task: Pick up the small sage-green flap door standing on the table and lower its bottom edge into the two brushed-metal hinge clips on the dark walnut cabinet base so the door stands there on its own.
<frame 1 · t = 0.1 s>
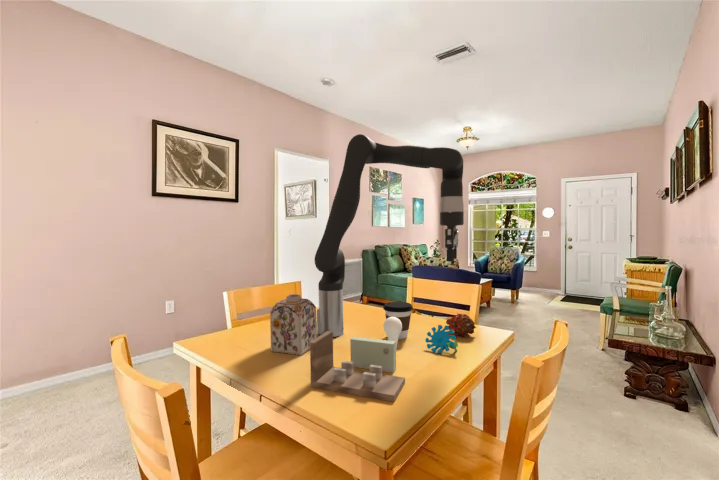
hand: (451, 260, 113), 29 cm above the table, tool pointing down, fingers open, 8 cm apart
lightbulb: (393, 350, 112), on the table
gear: (441, 351, 111), on the table
coffee cup: (398, 337, 125), on the table
decorative jar: (294, 348, 115), on the table
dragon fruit: (460, 335, 127), on the table
cabinet base: (358, 385, 87), on the table
door: (373, 367, 98), on the table
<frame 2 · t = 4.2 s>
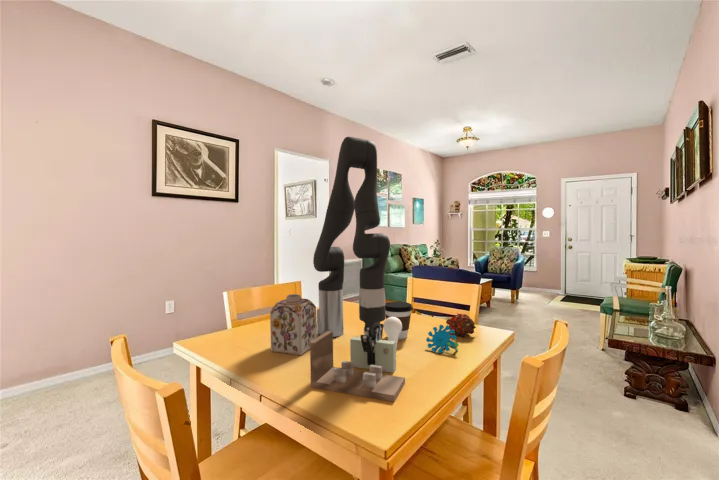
hand: (373, 362, 98), 1 cm above the table, tool pointing down, fingers closed on door, 2 cm apart
door: (373, 367, 98), on the table, touching gripper
everything else where it was.
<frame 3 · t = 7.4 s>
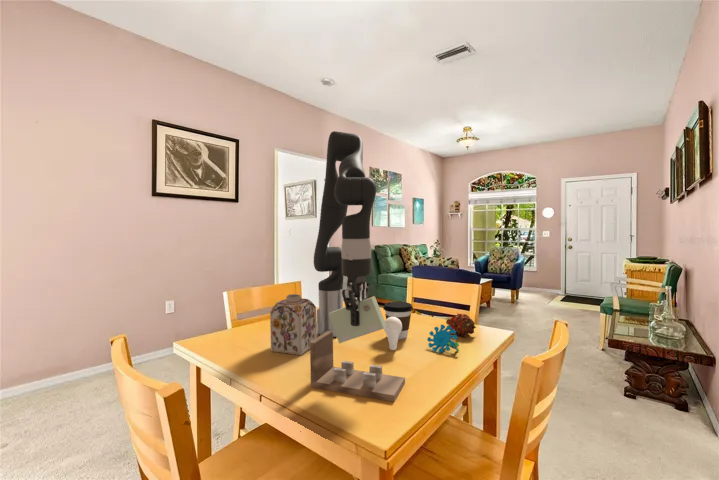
hand: (357, 323, 87), 16 cm above the table, tool pointing down, fingers closed on door
door: (362, 334, 86), point 13 cm above the table, tilted 22°, touching gripper
everything else where it was.
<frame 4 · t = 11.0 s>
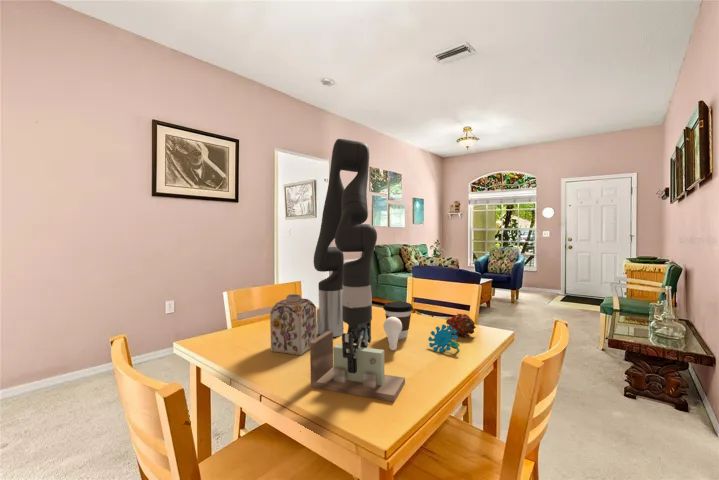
hand: (357, 366, 87), 5 cm above the table, tool pointing down, fingers open, 7 cm apart
door: (358, 379, 87), point 1 cm above the table, touching cabinet base
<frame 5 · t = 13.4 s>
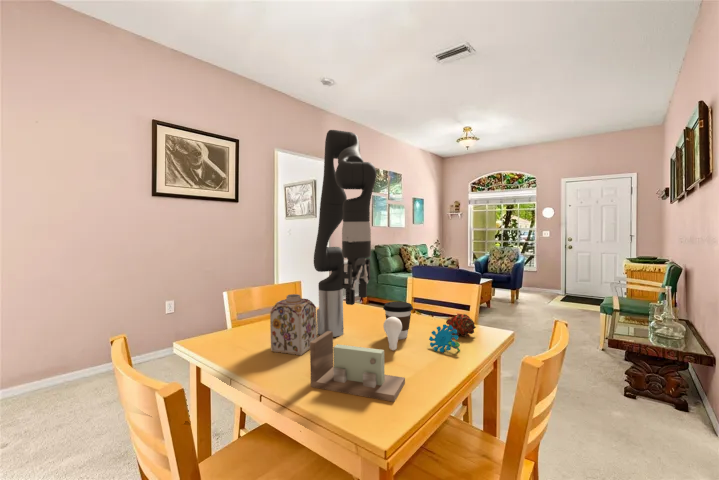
hand: (356, 300, 90), 21 cm above the table, tool pointing down, fingers open, 8 cm apart
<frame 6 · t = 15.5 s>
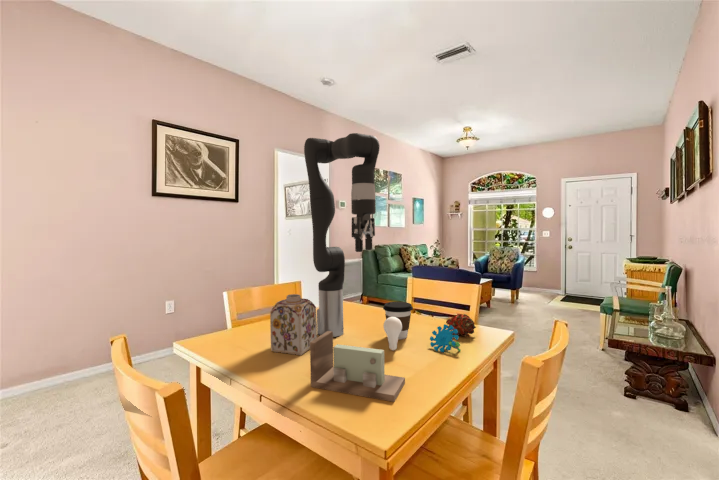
hand: (364, 250, 107), 33 cm above the table, tool pointing down, fingers open, 8 cm apart
at the end: door 0.2 cm off-centre on the cabinet base, point 1.5 cm above the cabinet base's base; door tilted 0°; the gripper is holding nothing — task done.
